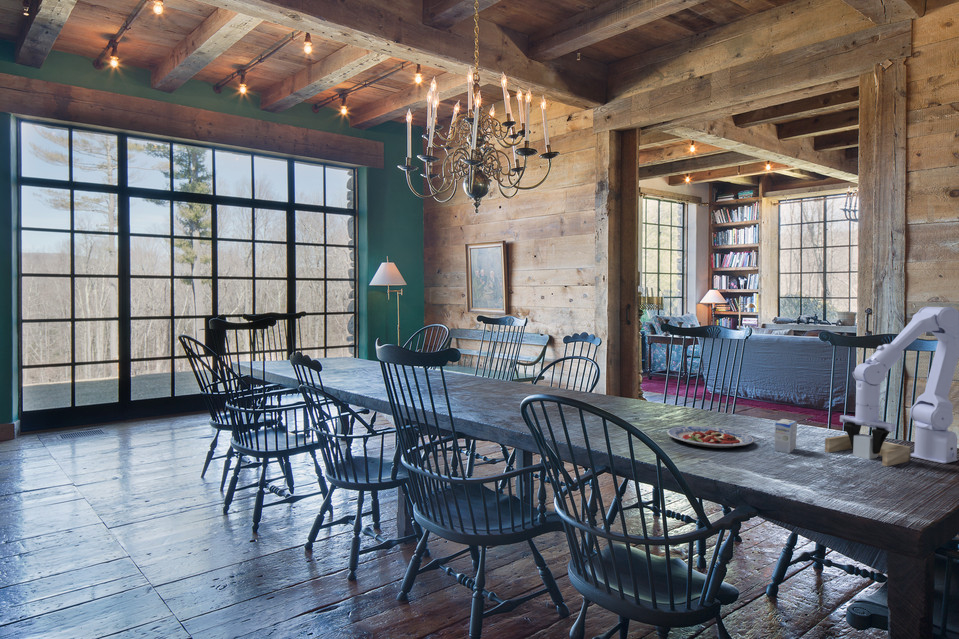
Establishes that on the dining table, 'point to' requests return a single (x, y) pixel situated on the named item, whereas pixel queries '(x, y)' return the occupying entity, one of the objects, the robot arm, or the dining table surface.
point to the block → (863, 446)
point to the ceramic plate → (710, 436)
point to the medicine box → (785, 435)
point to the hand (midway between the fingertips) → (865, 450)
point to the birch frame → (888, 451)
